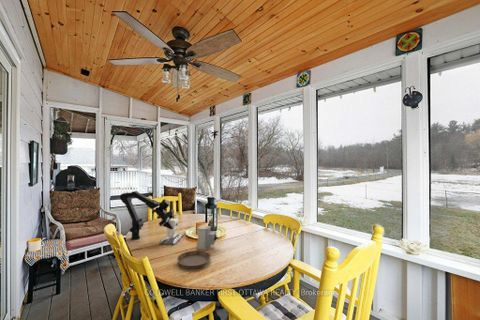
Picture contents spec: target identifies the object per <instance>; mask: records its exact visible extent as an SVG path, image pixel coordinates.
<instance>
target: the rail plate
mask: <svg viewBox="0 0 480 320" xmlns="http://www.w3.org/2000/svg"><path fill="white" fill-rule="evenodd" d="M184 236H185V235H184V233H179V234H177V235H176V236H175V237H167V236H166V237H164V238H163V239H162V240H161V241H160V242H159V245H173V246H175V245H176V244H177V243H178V242H179V241H180V240H182V239H183V237H184Z"/></svg>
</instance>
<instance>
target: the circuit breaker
mask: <svg viewBox="0 0 480 320" xmlns="http://www.w3.org/2000/svg"><path fill="white" fill-rule="evenodd" d="M196 229H197V230H196V235H197V241H196V249H197V250H206V251H207V250H208V249H209V248H211V246H215V245H214V244H215V243H216V242H217V239H218V236H217V231H215V230H213V231H212V226H211V225H201V224H200V226H198V227H197V228H196Z"/></svg>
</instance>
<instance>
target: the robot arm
mask: <svg viewBox="0 0 480 320" xmlns="http://www.w3.org/2000/svg"><path fill="white" fill-rule="evenodd" d="M133 198H135V199H137V200H138V201H141V202H142V203H144V204H145V205H146V206H147V207H148V208H149V209H150V210H152V214H156V215H157V216H158V219H161V221H159V223H158V226H160V227H164V228H166V229H167V228H170V229H173V228H172V226H171V225H170V224H169V219H175V216H176V215H175V210H174V209H173V208H172V209H169V211H166V209H168V207H170V206H171V203H170V201H169V200H168V199H166V198H164V199H163V200H162V201H161V202H160V201H157V200H155V199H151V198H148V196H146V195H144V194H142V193H140V192H139V191H138V190H134V191H131V192H124V193H120V195H119V199H120V200H121V202H122V203H123V204H124V205H125V206H126V209H127V212H128V214H129V216H130V219H131V226H132V227H130V228H129V233H131V237H130V240H140V238H141V236H140V230H142V228H143V226H144V223H145V222H144V221H143V218H142V217H141V218H140V217H139V216H138V213H137V211H136V209H135V207H134V205H133V203H132V202H133V201H132V199H133Z"/></svg>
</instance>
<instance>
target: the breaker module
mask: <svg viewBox="0 0 480 320" xmlns="http://www.w3.org/2000/svg"><path fill="white" fill-rule="evenodd" d="M169 224H170V225H171V226H172V228H173V229H170V228H167V227H166V229H167V230H166V237H175V236H176V235H178V230H179V229H178V228H179V219H178V218H174V219H169Z"/></svg>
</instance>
